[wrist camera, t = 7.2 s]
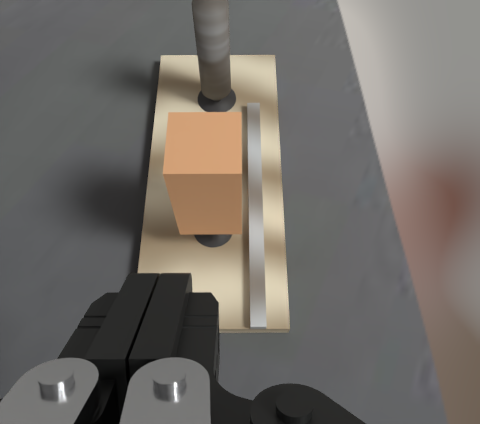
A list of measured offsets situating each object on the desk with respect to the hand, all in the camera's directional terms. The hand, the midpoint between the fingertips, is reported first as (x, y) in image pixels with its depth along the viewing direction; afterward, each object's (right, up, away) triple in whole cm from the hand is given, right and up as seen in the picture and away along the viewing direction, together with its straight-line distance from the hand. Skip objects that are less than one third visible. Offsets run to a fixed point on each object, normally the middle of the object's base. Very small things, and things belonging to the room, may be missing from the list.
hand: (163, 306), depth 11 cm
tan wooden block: (0, +2, +20) cm, 20 cm away
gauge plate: (0, +5, +24) cm, 24 cm away
